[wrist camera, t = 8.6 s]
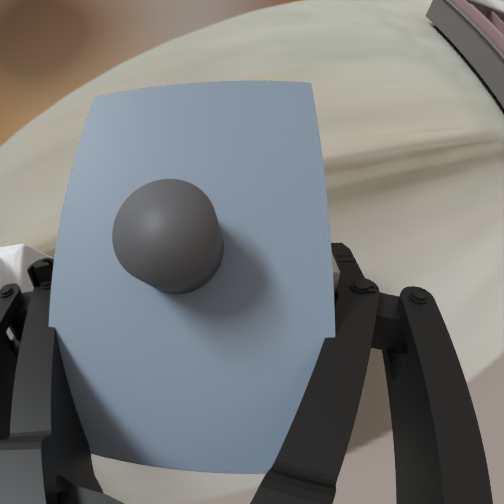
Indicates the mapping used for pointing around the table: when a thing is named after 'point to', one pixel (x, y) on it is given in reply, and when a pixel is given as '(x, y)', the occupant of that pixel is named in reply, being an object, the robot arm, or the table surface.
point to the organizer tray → (474, 37)
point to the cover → (194, 272)
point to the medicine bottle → (18, 267)
